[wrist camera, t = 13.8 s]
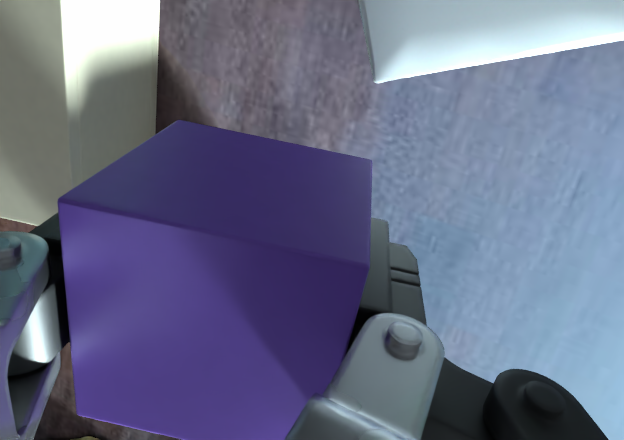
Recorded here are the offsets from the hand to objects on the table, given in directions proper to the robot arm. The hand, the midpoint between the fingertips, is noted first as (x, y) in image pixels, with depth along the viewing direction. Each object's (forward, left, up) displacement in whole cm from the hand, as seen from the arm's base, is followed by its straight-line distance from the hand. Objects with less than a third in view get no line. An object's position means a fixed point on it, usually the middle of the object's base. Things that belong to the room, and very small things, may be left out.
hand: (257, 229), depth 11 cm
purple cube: (0, 0, 0) cm, 0 cm away
